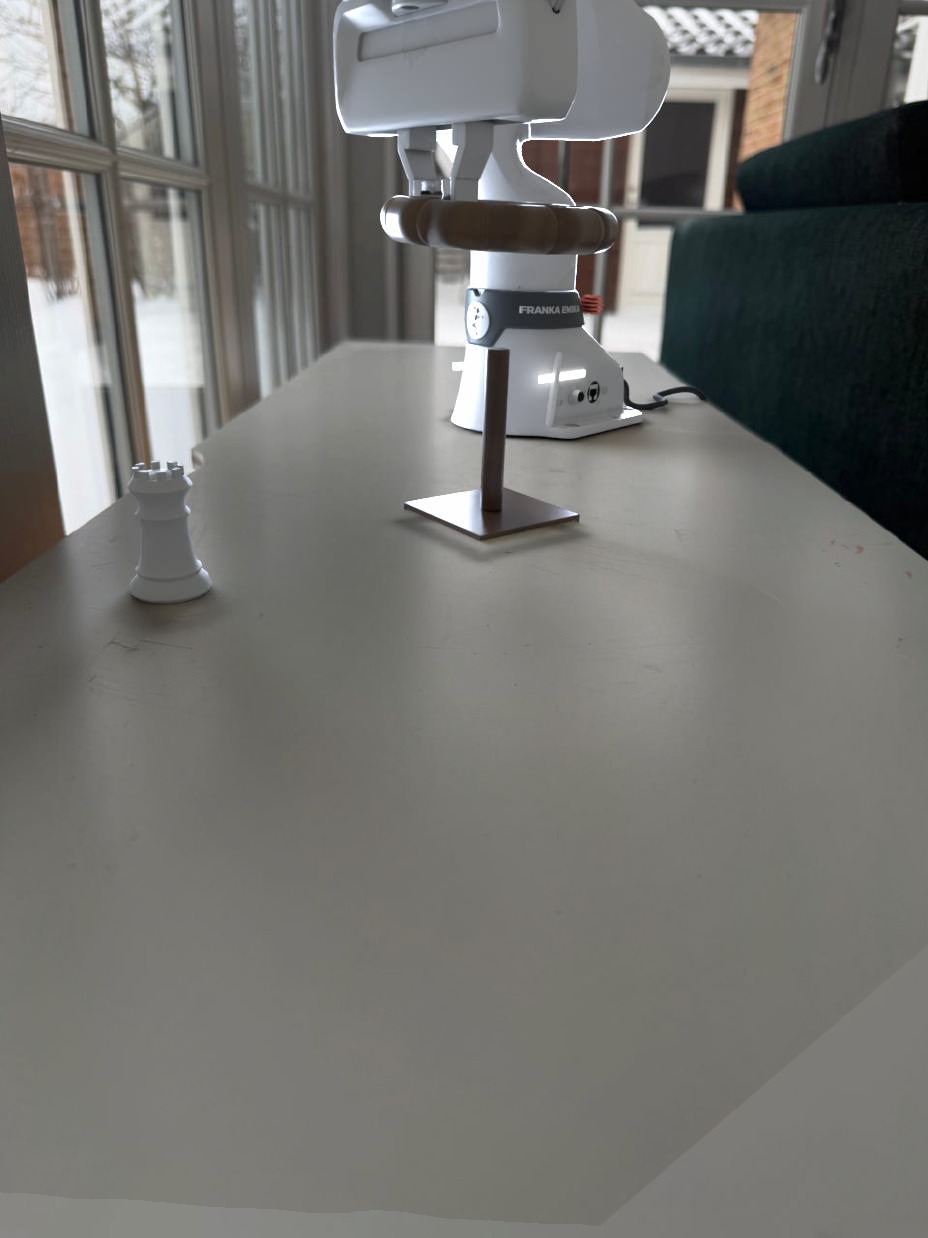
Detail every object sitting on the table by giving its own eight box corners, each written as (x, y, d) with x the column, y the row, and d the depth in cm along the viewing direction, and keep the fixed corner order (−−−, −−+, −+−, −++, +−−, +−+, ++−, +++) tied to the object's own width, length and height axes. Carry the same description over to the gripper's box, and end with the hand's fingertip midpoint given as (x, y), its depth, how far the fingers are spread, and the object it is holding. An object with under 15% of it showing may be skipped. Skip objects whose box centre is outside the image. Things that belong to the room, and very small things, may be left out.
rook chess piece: (169, 632, 46) (152, 482, 43) (113, 612, 48) (92, 467, 45) (232, 605, 49) (221, 464, 46) (177, 587, 52) (162, 452, 48)
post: (498, 503, 69) (506, 338, 64) (578, 534, 63) (594, 353, 58) (403, 522, 64) (403, 343, 59) (479, 557, 58) (487, 360, 53)
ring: (511, 238, 62) (513, 200, 60) (661, 256, 52) (667, 212, 51) (337, 235, 54) (337, 191, 53) (476, 256, 44) (479, 203, 43)
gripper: (617, -86, 45) (593, 213, 50) (396, -16, 60) (397, 210, 65) (523, -116, 41) (508, 210, 47) (313, -33, 56) (321, 207, 62)
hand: (442, 210), depth 56 cm, fingers closed on ring, 2 cm apart
